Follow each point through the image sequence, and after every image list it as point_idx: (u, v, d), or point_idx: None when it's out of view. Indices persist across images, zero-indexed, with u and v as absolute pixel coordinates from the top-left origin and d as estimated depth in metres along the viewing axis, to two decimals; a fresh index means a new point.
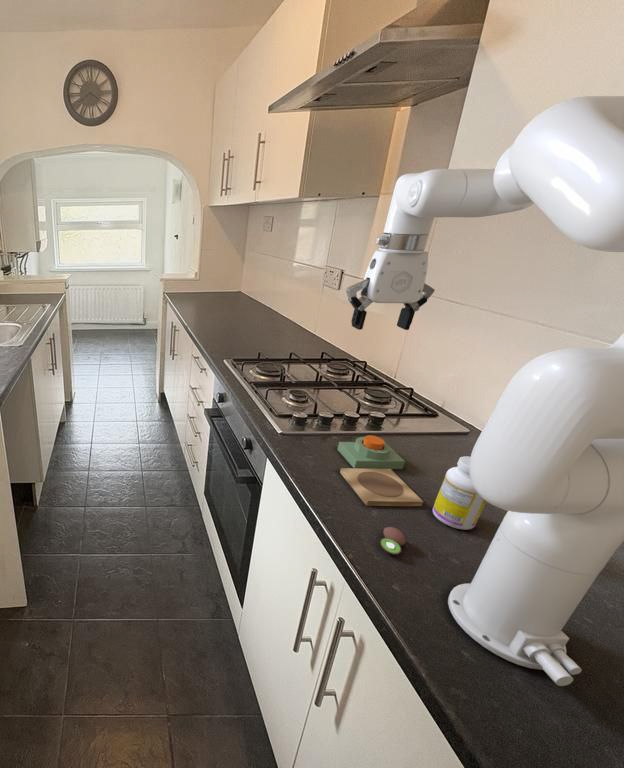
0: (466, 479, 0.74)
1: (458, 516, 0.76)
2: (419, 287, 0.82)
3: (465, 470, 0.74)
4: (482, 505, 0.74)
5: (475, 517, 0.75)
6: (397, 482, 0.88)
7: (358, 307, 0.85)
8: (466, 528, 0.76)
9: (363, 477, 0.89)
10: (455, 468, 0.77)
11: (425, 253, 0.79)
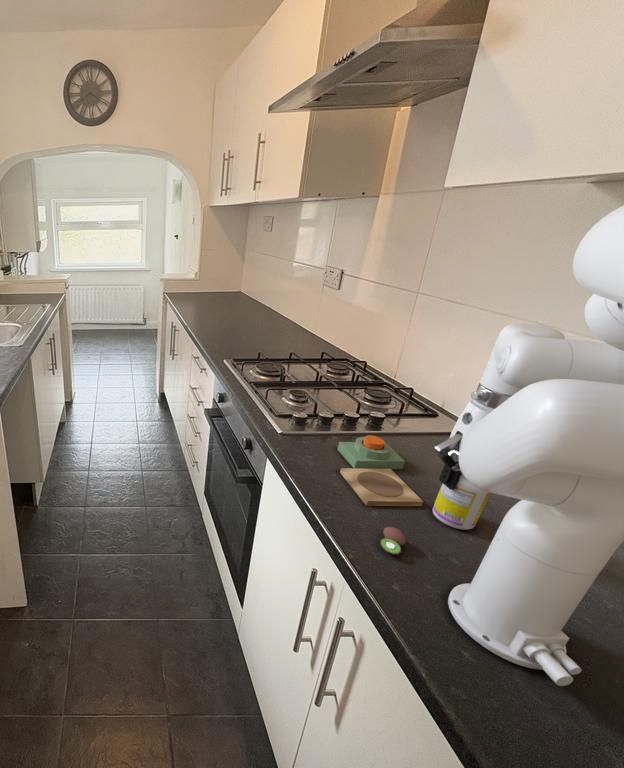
0: (466, 479, 0.74)
1: (458, 516, 0.76)
2: None
3: None
4: (482, 505, 0.74)
5: (475, 517, 0.75)
6: (397, 482, 0.88)
7: (451, 468, 0.74)
8: (466, 528, 0.76)
9: (363, 477, 0.89)
10: None
11: None
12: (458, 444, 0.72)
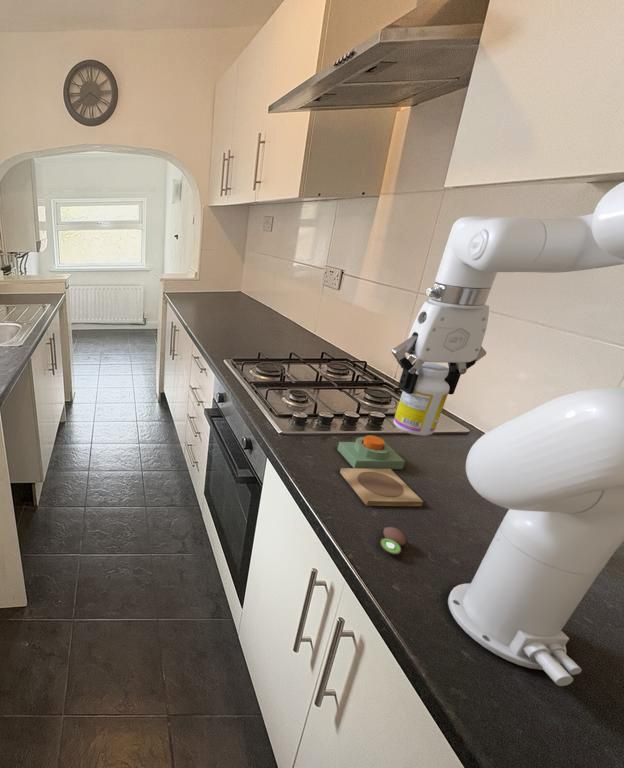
0: (423, 382, 0.75)
1: (416, 421, 0.76)
2: (477, 345, 0.70)
3: (423, 372, 0.74)
4: (439, 408, 0.75)
5: (433, 421, 0.76)
6: (397, 482, 0.88)
7: (408, 370, 0.74)
8: (424, 433, 0.77)
9: (363, 477, 0.89)
10: None
11: (486, 308, 0.68)
12: (414, 345, 0.73)
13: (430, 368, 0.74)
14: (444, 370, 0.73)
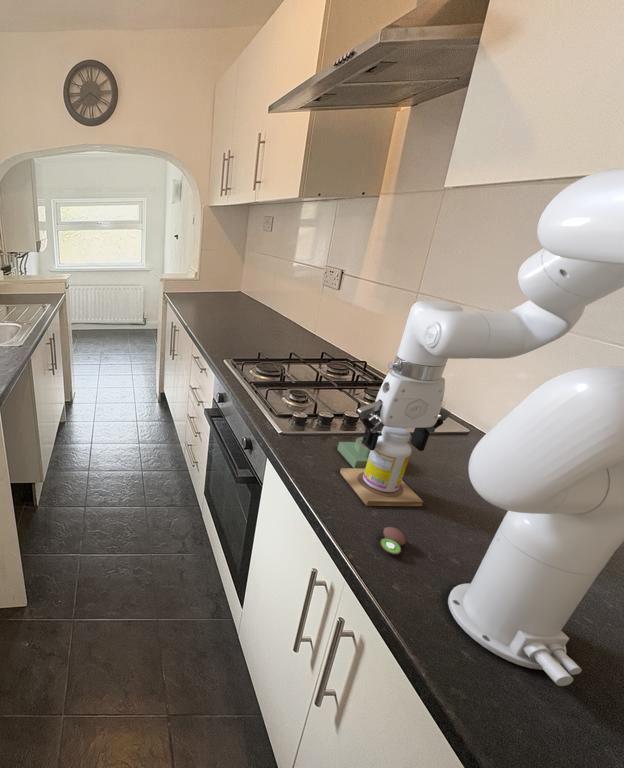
0: (387, 445, 0.82)
1: (382, 480, 0.84)
2: (435, 413, 0.77)
3: (387, 436, 0.82)
4: (402, 469, 0.82)
5: (397, 480, 0.83)
6: None
7: (370, 429, 0.81)
8: (390, 490, 0.84)
9: None
10: (380, 436, 0.85)
11: (442, 381, 0.75)
12: (380, 407, 0.79)
13: (394, 432, 0.82)
14: (406, 436, 0.80)
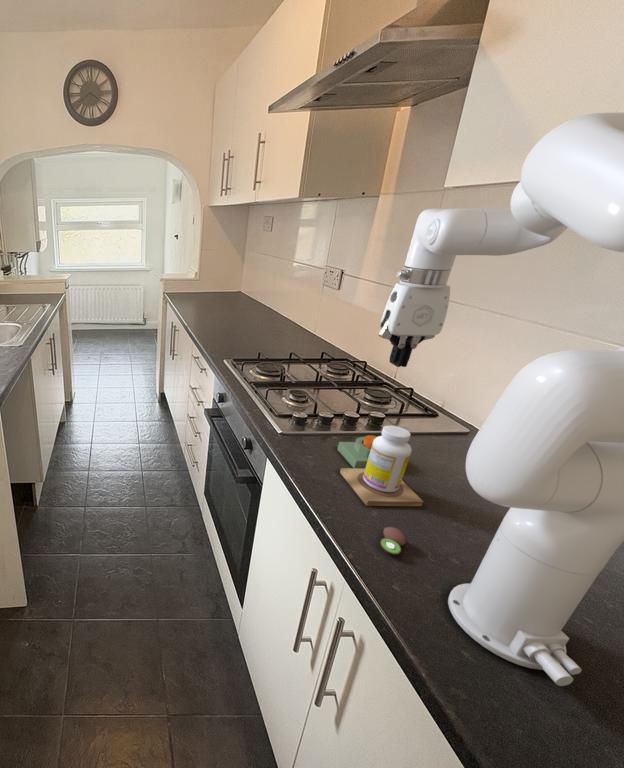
0: (387, 445, 0.82)
1: (382, 480, 0.84)
2: (440, 320, 0.81)
3: (387, 436, 0.82)
4: (402, 469, 0.82)
5: (397, 480, 0.83)
6: None
7: (398, 347, 0.85)
8: (390, 490, 0.84)
9: None
10: (380, 436, 0.85)
11: (447, 287, 0.79)
12: None
13: (394, 432, 0.82)
14: (406, 436, 0.80)
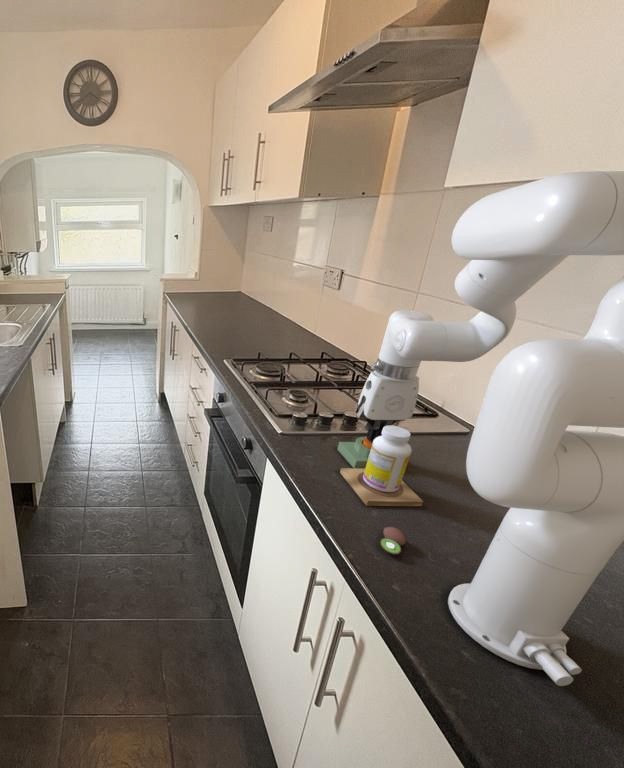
0: (387, 445, 0.82)
1: (382, 480, 0.84)
2: (411, 407, 0.89)
3: (387, 436, 0.82)
4: (402, 469, 0.82)
5: (397, 480, 0.83)
6: None
7: (373, 428, 0.94)
8: (390, 490, 0.84)
9: None
10: (380, 436, 0.85)
11: (416, 380, 0.87)
12: None
13: (394, 432, 0.82)
14: (406, 436, 0.80)
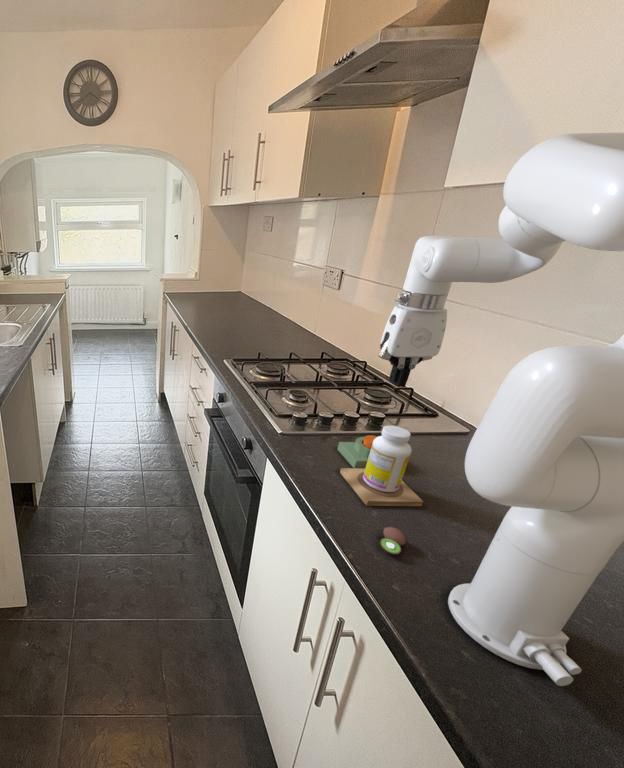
0: (387, 445, 0.82)
1: (382, 480, 0.84)
2: (438, 343, 0.84)
3: (387, 436, 0.82)
4: (402, 469, 0.82)
5: (397, 480, 0.83)
6: None
7: (397, 368, 0.88)
8: (390, 490, 0.84)
9: None
10: (380, 436, 0.85)
11: (444, 311, 0.82)
12: (388, 350, 0.87)
13: (394, 432, 0.82)
14: (406, 436, 0.80)
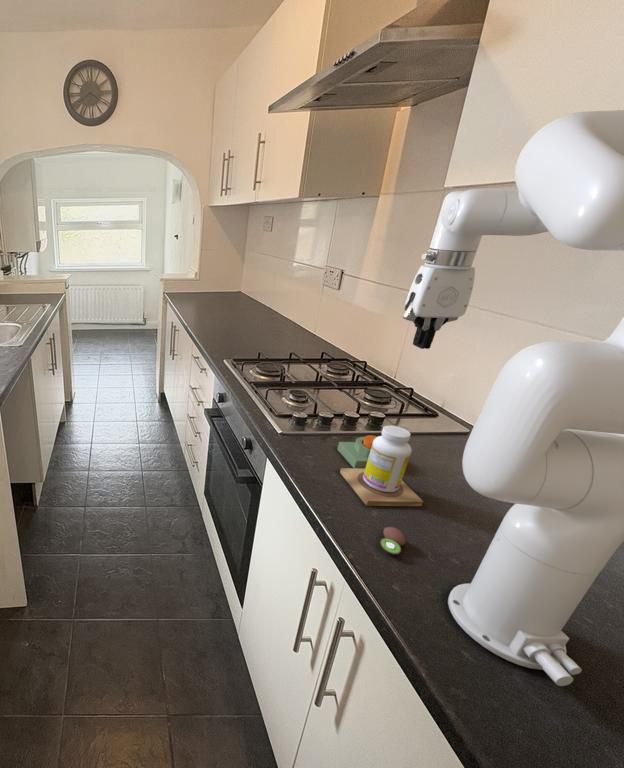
0: (387, 445, 0.82)
1: (382, 480, 0.84)
2: (465, 302, 0.83)
3: (387, 436, 0.82)
4: (402, 469, 0.82)
5: (397, 480, 0.83)
6: None
7: (422, 329, 0.87)
8: (390, 490, 0.84)
9: None
10: (380, 436, 0.85)
11: (472, 269, 0.80)
12: None
13: (394, 432, 0.82)
14: (406, 436, 0.80)
